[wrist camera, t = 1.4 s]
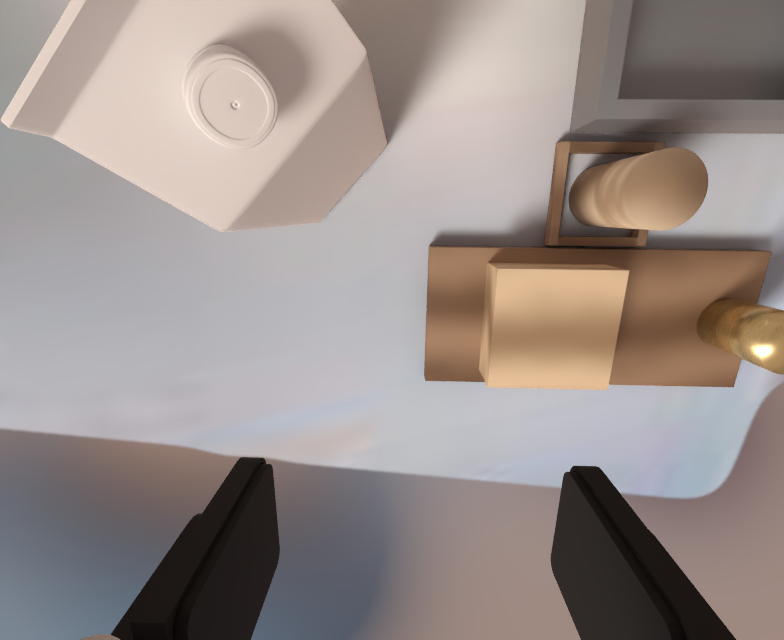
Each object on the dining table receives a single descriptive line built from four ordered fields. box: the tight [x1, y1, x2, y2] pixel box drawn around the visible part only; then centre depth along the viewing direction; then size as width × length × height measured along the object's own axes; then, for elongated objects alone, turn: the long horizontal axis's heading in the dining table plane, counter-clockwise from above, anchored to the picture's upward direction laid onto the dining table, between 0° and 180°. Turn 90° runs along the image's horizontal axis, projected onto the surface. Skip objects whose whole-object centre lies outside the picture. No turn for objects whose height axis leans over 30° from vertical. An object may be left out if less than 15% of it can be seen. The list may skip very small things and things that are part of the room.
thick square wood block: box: [479, 263, 629, 390], centre depth 26 cm, size 8×8×3 cm
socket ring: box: [544, 141, 665, 247], centre depth 25 cm, size 7×7×1 cm
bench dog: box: [697, 298, 784, 374], centre depth 24 cm, size 4×4×5 cm
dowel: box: [569, 147, 708, 230], centre depth 23 cm, size 4×4×7 cm
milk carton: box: [1, 0, 387, 232], centre depth 16 cm, size 7×7×19 cm
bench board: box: [424, 246, 771, 387], centre depth 28 cm, size 10×23×1 cm, turn 89°
